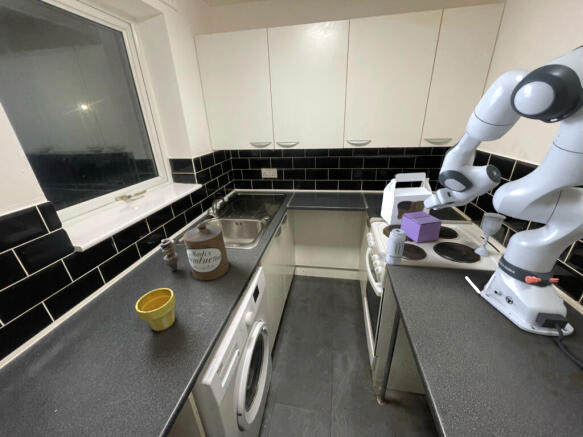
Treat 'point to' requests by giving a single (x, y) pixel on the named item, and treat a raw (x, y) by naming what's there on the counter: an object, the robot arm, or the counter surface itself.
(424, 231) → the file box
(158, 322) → the flower pot
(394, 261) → the energy drink can
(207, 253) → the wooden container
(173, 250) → the grey tall piece
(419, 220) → the flap
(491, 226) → the chalice
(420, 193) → the gable box
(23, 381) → the counter surface
